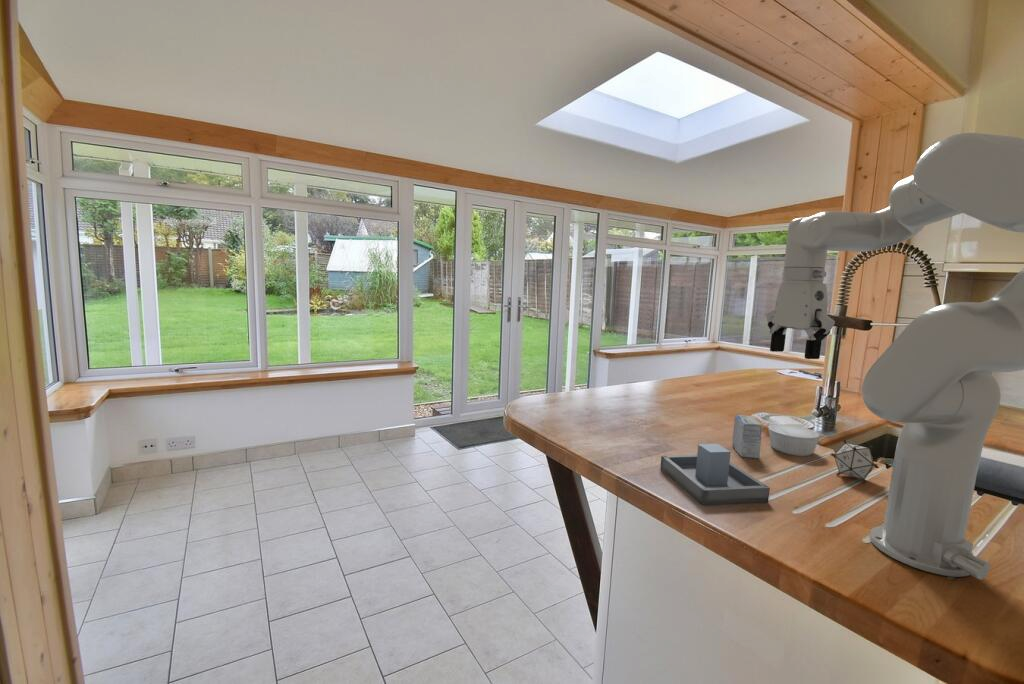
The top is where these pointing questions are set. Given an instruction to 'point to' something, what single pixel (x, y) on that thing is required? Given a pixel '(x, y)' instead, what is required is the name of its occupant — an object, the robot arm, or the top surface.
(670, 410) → the top surface
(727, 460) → the slate block
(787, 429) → the ramekin
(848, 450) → the game die
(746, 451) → the medicine box
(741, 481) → the tray
